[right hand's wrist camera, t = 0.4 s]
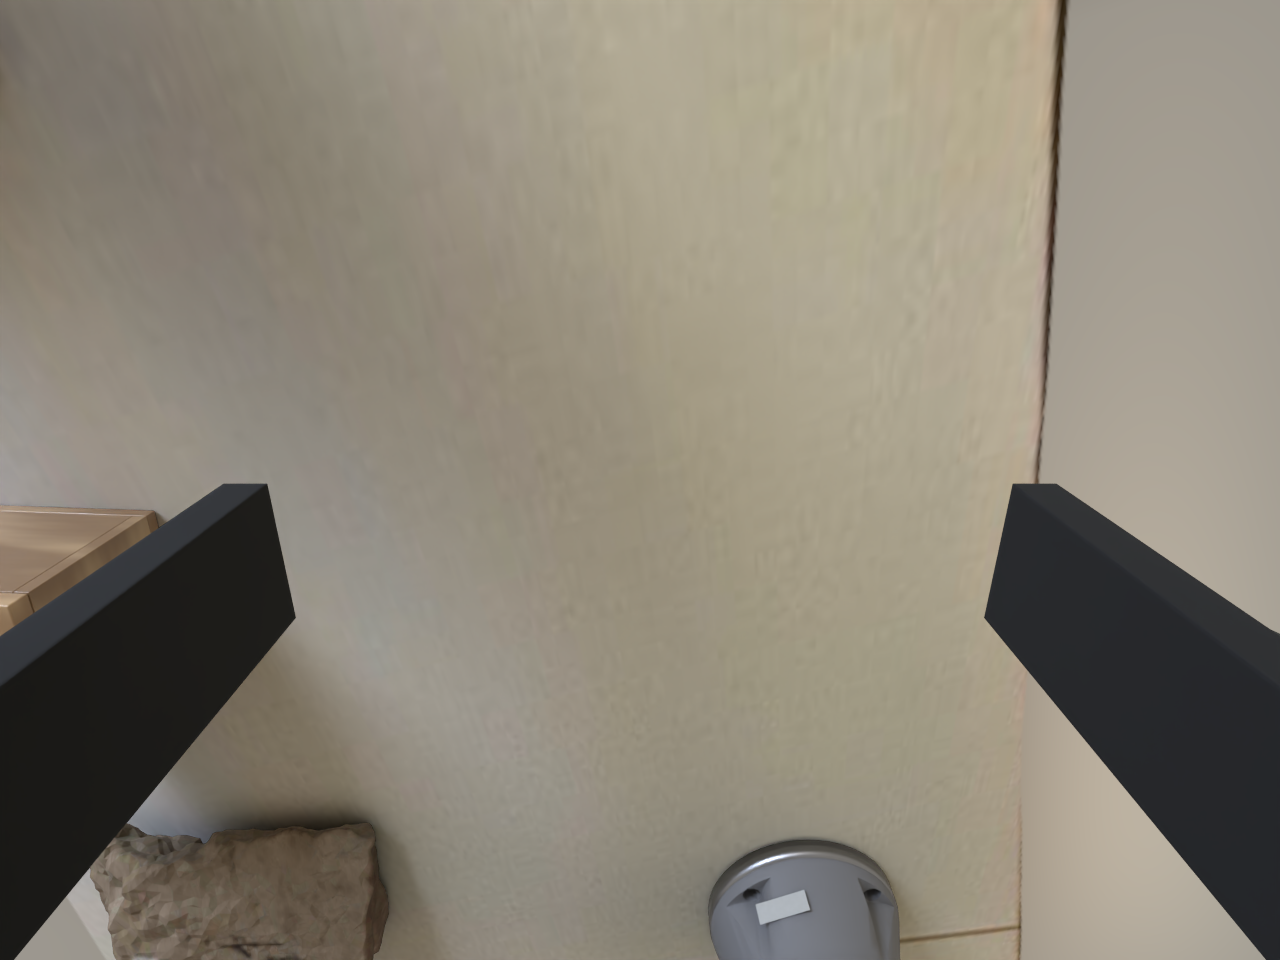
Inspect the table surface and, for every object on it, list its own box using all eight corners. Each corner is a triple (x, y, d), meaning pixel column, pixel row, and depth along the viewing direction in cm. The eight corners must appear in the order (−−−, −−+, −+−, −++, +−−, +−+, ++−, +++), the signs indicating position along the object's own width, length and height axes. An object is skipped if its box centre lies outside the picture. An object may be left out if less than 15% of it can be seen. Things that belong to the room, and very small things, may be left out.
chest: (195, 674, 50) (93, 784, 41) (53, 670, 50) (-81, 779, 40) (154, 510, 45) (28, 592, 36) (-2, 504, 45) (-170, 585, 36)
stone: (123, 976, 57) (78, 1046, 51) (104, 809, 55) (54, 862, 49) (394, 944, 61) (381, 1006, 55) (387, 786, 58) (373, 833, 52)
